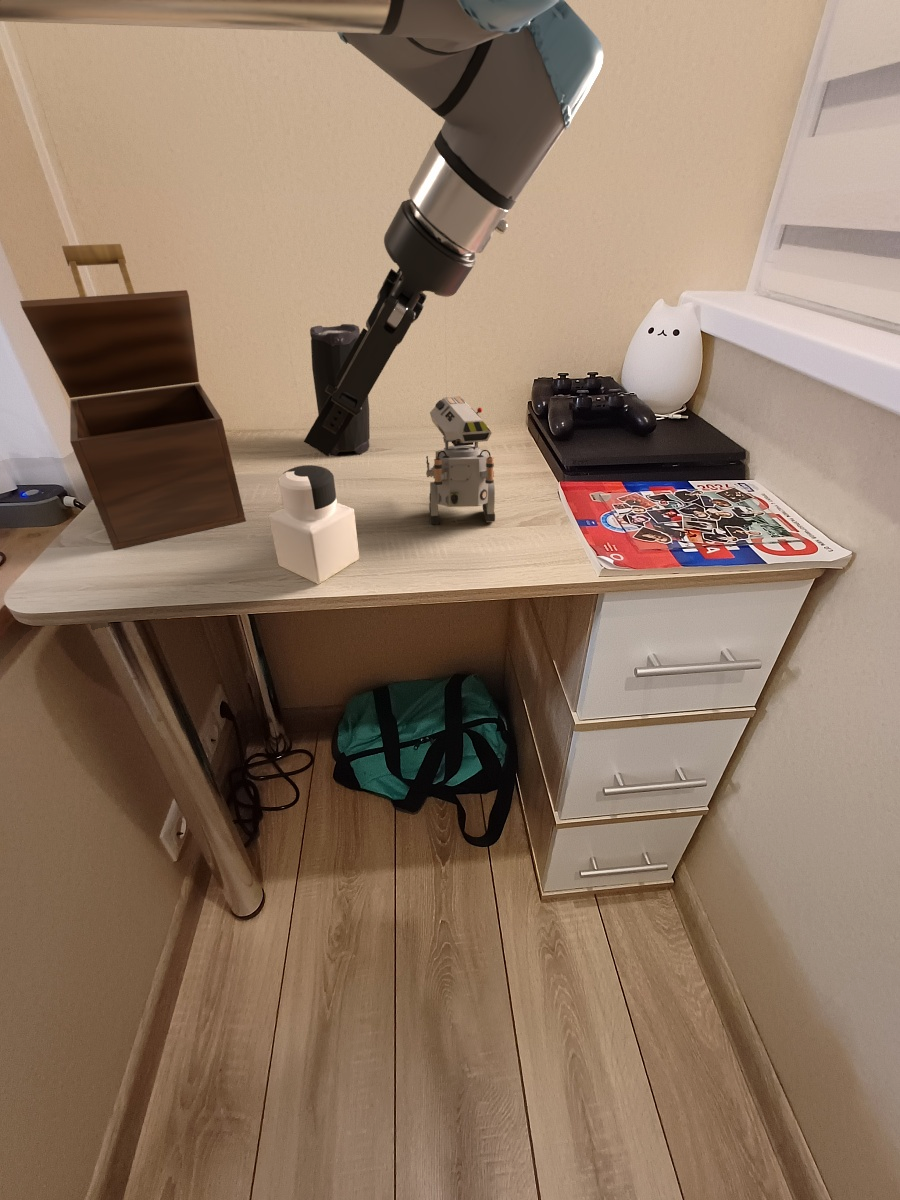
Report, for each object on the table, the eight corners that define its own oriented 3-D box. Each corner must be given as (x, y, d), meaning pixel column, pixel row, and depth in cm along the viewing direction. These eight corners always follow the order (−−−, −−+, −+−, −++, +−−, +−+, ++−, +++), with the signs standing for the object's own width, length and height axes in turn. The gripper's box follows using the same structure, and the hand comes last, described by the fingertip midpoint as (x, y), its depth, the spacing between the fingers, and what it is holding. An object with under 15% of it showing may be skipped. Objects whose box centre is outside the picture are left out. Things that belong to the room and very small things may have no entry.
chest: (246, 521, 79) (222, 418, 71) (113, 550, 73) (70, 441, 64) (222, 474, 92) (199, 382, 83) (107, 496, 85) (70, 399, 77)
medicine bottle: (320, 542, 75) (307, 454, 68) (360, 559, 71) (351, 469, 64) (277, 566, 70) (258, 474, 63) (318, 585, 67) (303, 491, 60)
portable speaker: (366, 436, 105) (356, 321, 94) (376, 455, 98) (367, 332, 87) (319, 441, 103) (304, 323, 92) (326, 461, 96) (310, 336, 85)
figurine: (486, 492, 87) (490, 392, 78) (496, 529, 78) (502, 420, 69) (426, 494, 86) (424, 393, 77) (429, 531, 77) (426, 421, 68)
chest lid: (189, 295, 66) (166, 228, 67) (21, 307, 60) (-2, 232, 60) (199, 382, 83) (181, 327, 84) (69, 398, 77) (51, 339, 77)
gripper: (469, 312, 41) (337, 501, 54) (486, 217, 58) (383, 379, 71) (378, 241, 38) (263, 458, 51) (424, 163, 55) (329, 342, 68)
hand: (332, 412), depth 61 cm, fingers open, 13 cm apart
